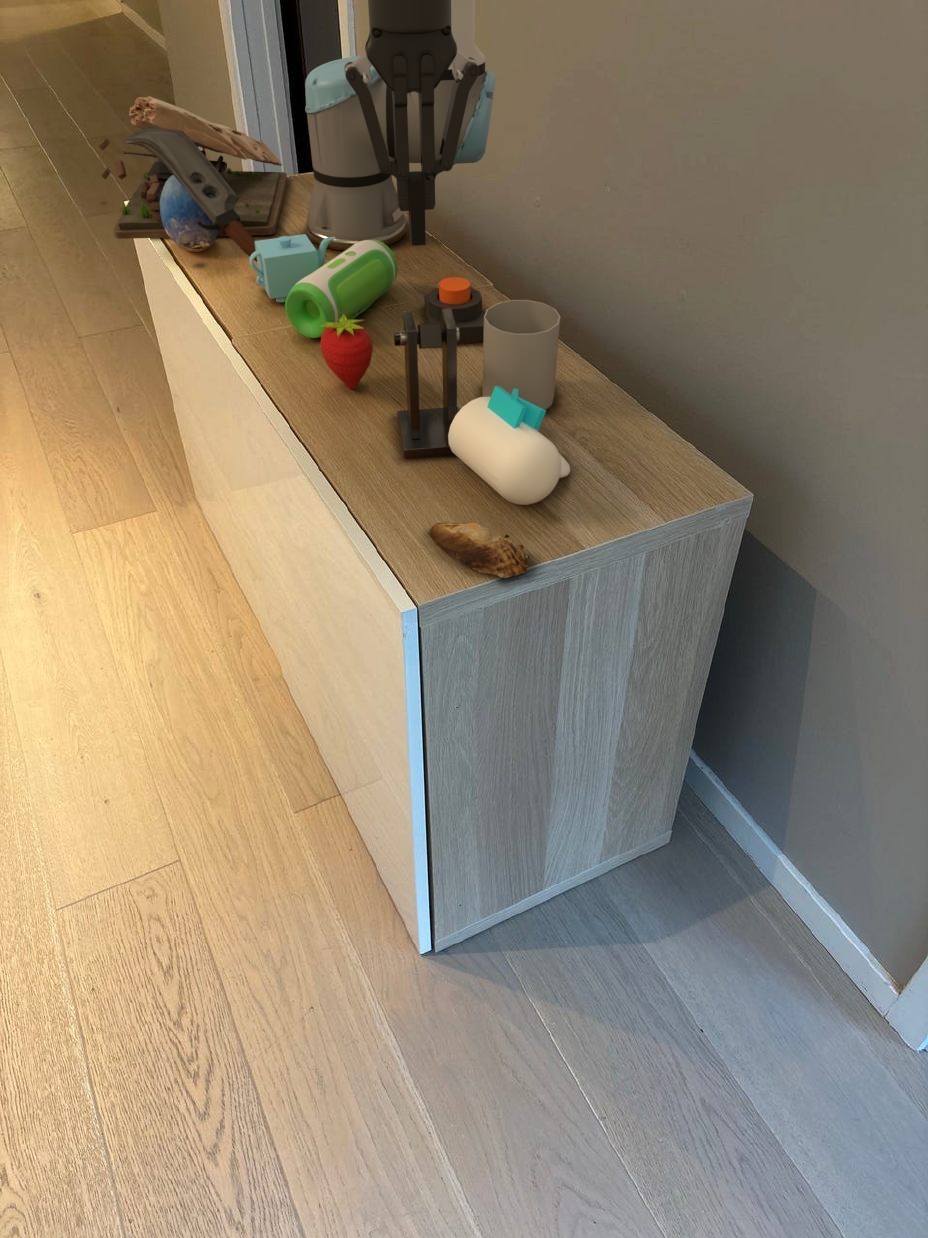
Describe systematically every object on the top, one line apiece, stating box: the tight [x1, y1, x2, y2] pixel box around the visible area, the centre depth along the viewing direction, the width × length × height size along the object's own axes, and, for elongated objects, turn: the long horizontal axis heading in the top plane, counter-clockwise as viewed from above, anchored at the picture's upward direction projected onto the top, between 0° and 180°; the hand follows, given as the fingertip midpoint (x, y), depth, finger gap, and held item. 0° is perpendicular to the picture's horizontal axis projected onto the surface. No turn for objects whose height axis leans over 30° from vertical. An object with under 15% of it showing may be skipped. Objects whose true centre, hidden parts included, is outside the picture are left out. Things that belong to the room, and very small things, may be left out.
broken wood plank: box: [129, 95, 283, 167], centre depth 149 cm, size 28×12×5 cm, turn 130°
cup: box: [481, 299, 561, 411], centre depth 106 cm, size 8×8×10 cm
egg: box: [160, 175, 218, 267], centre depth 137 cm, size 9×9×15 cm
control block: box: [423, 286, 485, 344], centre depth 121 cm, size 10×7×4 cm
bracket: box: [396, 308, 461, 460], centre depth 99 cm, size 8×7×14 cm
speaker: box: [284, 240, 399, 339], centre depth 122 cm, size 18×7×8 cm, turn 152°
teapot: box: [248, 233, 335, 303], centre depth 127 cm, size 12×6×8 cm, turn 111°
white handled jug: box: [448, 386, 571, 506], centre depth 95 cm, size 12×9×12 cm
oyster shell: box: [428, 522, 530, 579], centre depth 88 cm, size 6×4×10 cm
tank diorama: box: [98, 132, 288, 240], centre depth 148 cm, size 28×25×11 cm
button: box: [438, 276, 471, 304], centre depth 119 cm, size 4×4×2 cm
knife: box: [123, 128, 258, 263], centre depth 132 cm, size 9×2×30 cm
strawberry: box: [318, 308, 374, 390], centre depth 107 cm, size 6×8×10 cm
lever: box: [393, 322, 443, 350], centre depth 100 cm, size 14×6×2 cm, turn 8°
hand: (417, 239), depth 99 cm, fingers closed
